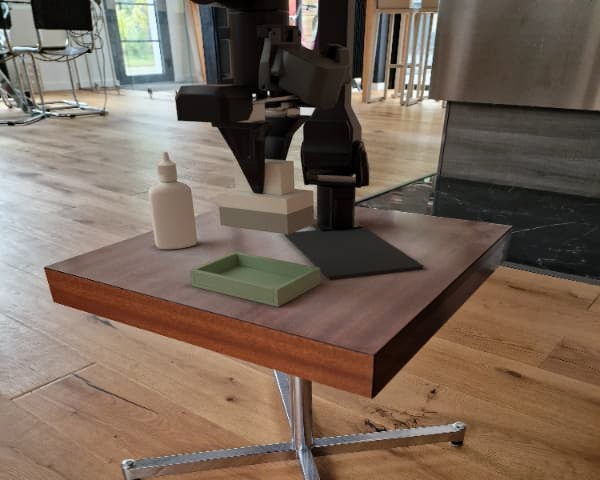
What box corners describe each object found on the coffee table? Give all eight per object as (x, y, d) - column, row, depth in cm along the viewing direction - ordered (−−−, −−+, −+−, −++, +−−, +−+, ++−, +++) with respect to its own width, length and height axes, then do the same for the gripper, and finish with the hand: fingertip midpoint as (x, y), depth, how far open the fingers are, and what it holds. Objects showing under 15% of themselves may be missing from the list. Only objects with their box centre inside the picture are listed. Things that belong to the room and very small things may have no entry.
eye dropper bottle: (161, 241, 81) (148, 149, 75) (200, 241, 80) (190, 149, 74) (152, 250, 77) (137, 154, 71) (192, 250, 77) (181, 154, 70)
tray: (191, 286, 65) (189, 269, 64) (236, 266, 71) (235, 251, 70) (278, 307, 59) (277, 289, 58) (320, 283, 65) (320, 267, 64)
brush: (220, 225, 62) (214, 161, 59) (248, 216, 66) (244, 155, 63) (288, 234, 58) (285, 166, 55) (314, 224, 62) (313, 159, 58)
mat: (284, 235, 82) (284, 232, 82) (362, 228, 85) (362, 225, 85) (329, 279, 66) (329, 276, 66) (423, 268, 69) (423, 265, 69)
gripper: (269, 1, 42) (276, 218, 50) (383, 13, 55) (374, 183, 63) (160, 9, 47) (183, 205, 55) (288, 18, 60) (291, 175, 68)
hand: (265, 191), depth 60 cm, fingers closed on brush, 2 cm apart
